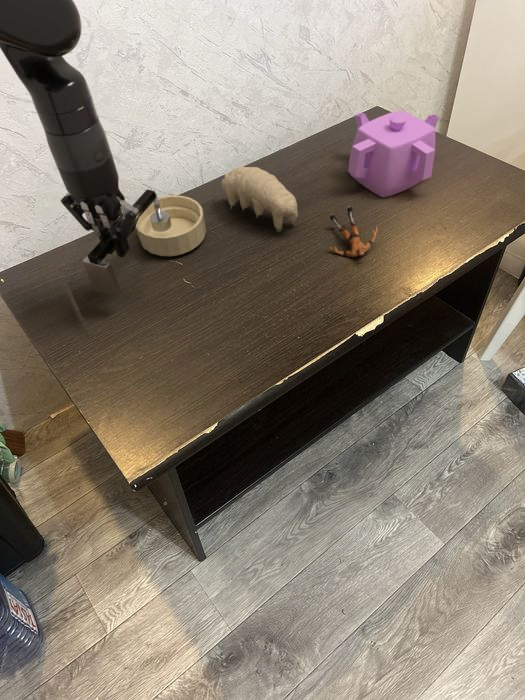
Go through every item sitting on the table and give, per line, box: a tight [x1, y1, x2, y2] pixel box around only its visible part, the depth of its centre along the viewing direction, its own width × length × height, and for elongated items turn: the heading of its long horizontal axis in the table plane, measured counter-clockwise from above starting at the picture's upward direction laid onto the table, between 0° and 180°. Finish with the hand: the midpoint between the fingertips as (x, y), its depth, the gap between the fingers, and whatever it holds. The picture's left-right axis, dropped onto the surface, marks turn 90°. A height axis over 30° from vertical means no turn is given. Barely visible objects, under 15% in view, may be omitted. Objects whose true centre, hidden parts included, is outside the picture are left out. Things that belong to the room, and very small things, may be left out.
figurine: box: [329, 205, 379, 259], centre depth 91 cm, size 9×2×11 cm
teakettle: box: [347, 109, 440, 198], centre depth 100 cm, size 17×17×12 cm
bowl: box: [135, 195, 207, 257], centre depth 94 cm, size 13×13×5 cm
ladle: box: [82, 189, 172, 298], centre depth 84 cm, size 20×4×8 cm, turn 158°
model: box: [221, 166, 299, 233], centre depth 95 cm, size 7×18×10 cm, turn 49°
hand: (117, 252), depth 82 cm, fingers closed on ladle
